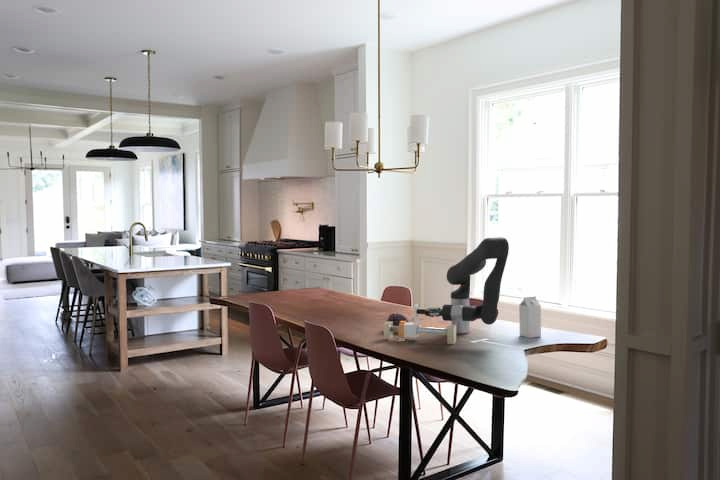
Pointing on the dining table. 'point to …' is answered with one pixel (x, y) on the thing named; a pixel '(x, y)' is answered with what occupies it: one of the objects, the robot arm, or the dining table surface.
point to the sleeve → (412, 325)
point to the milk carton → (530, 317)
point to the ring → (401, 329)
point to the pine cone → (396, 319)
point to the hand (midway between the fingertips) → (417, 311)
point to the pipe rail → (423, 331)
